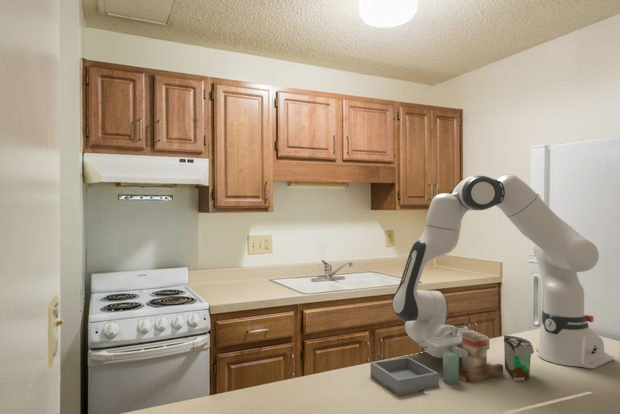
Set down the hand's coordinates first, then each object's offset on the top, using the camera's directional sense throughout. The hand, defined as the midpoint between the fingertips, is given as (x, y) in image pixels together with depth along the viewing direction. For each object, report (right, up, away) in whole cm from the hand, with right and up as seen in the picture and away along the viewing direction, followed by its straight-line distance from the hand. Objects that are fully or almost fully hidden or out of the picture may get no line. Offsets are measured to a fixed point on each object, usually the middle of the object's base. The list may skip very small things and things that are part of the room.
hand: (476, 353), depth 119 cm
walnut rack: (0, -7, +1) cm, 7 cm away
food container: (+12, -7, -1) cm, 14 cm away
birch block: (0, -6, +1) cm, 6 cm away
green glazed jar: (-9, -7, -5) cm, 12 cm away
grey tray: (-21, -7, -3) cm, 23 cm away
